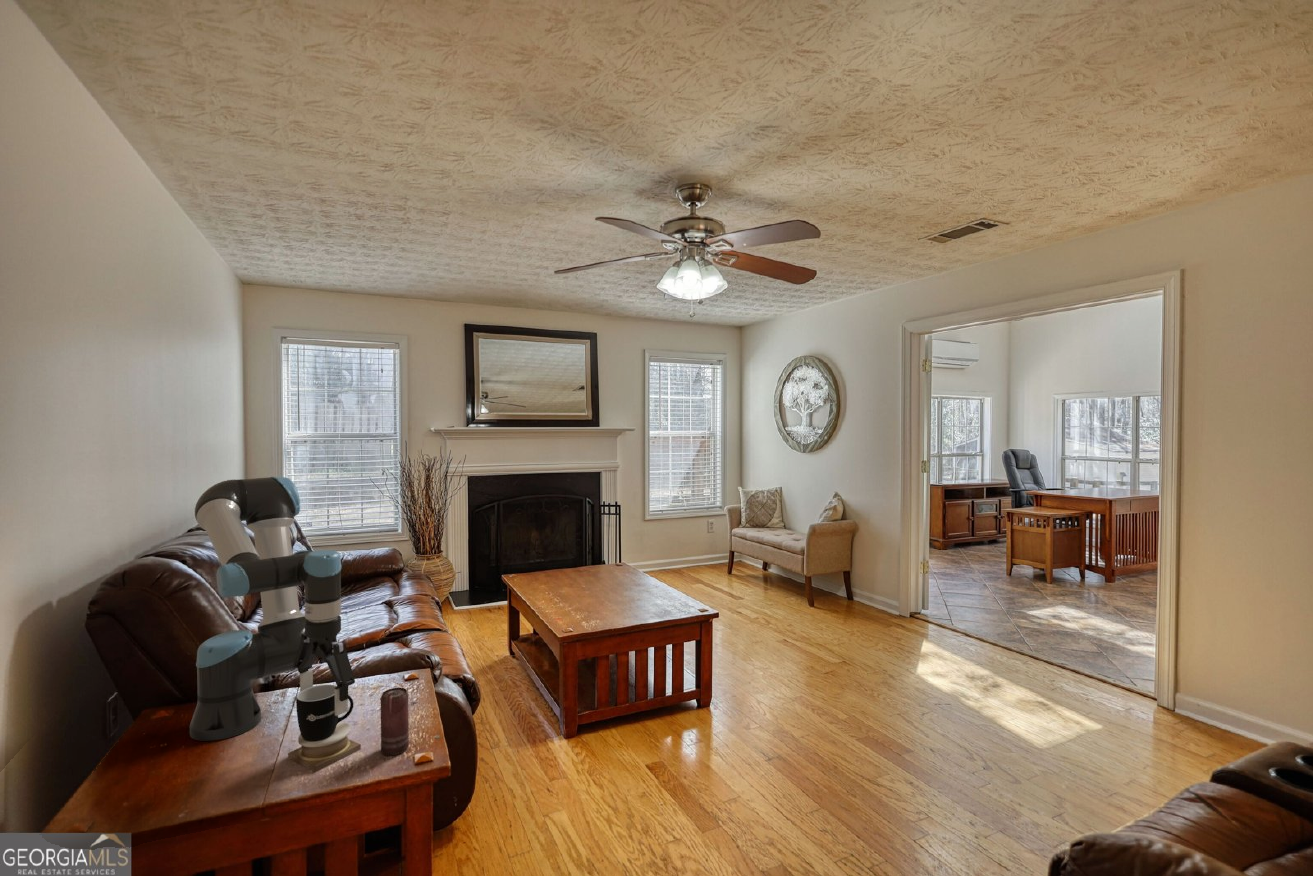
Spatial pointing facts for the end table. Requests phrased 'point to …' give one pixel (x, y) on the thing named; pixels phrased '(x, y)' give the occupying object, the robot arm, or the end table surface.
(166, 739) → the end table surface
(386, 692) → the can
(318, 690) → the mug
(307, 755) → the stand
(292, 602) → the robot arm
